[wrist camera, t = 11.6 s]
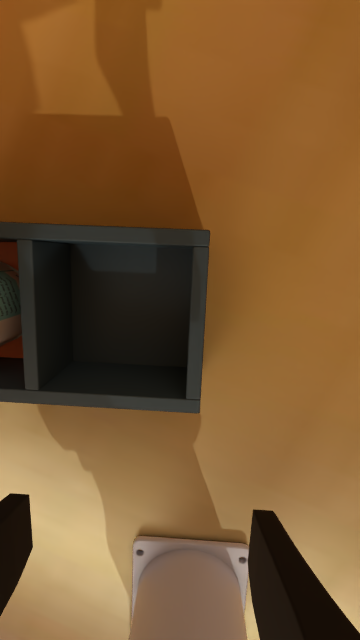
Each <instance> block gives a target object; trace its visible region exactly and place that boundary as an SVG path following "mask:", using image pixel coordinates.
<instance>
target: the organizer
mask: <svg viewBox="0 0 360 640" xmlns="http://www.w3.org/2000/svg"><path fill="white" fill-rule="evenodd" d="M209 242H210V231H209V230H194V229H169V228H143V227H118V226H92V225H67V224H42V223H16V222H0V262H3V263H5V264H8V265H9V266H11V267H13V268H14V269H16V270H17V271H18V272H19V289H20V308H21V326H22V336H20V337H19V338H17V339H15V340H13V341H11V342H8V343H6V344H4V345H2V346H0V402H15V403H32V404H49V405H66V406H83V407H100V408H117V409H134V410H151V411H168V412H184V413H200V398H201V381H202V364H203V347H204V329H205V312H206V294H207V277H208V260H209V247H208V246H209Z"/></svg>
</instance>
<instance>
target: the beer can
mask: <svg viewBox="0 0 360 640" xmlns="http://www.w3.org/2000/svg"><path fill="white" fill-rule="evenodd" d="M20 336H22V326H21V308H20V289H19V272H18V271H17V270H16V269H14V268H13V267H11V266H9V265H8V264H5V263H3V262H0V346H2V345H4V344H6V343H8V342H11V341H13V340H15V339H17V338H19V337H20Z"/></svg>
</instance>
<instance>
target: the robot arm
mask: <svg viewBox="0 0 360 640" xmlns="http://www.w3.org/2000/svg"><path fill="white" fill-rule="evenodd" d="M32 548H33V543H32V529H31V515H30V501H29V495H26V494H9V495H8V496H7V497H5V498H4V499H3V500H1V501H0V616H1V614H2V612H3V610H4V608H5V607H6V605H7V603H8V601H9V599H10V597H11V595H12V593H13V592H14V590H15V588H16V586H17V584H18V581H19V579H20V577H21V574H22V572H23V570H24V568H25V565H26V563H27V560H28V558H29V555H30V553H31V550H32ZM139 549H141V550H142V551H140V550H139ZM240 557H244V558H240ZM248 572H249V579H250V588H251V596H252V603H253V608H254V613H255V618H256V623H257V627H258V632H259V637H260V640H360V633H359V632H358V631H357V629H356V628H355V627H354V626H353V625H352V623H351V622H350V621H349V620H348V618H347V617H346V616H345V614H344V613H343V612H342V611H341V609H340V608H339V607H338V605H337V604H336V603H335V601H334V600H333V599H332V598H331V596H330V595H329V593H328V592H327V591H326V589H325V588H324V587H323V585H322V584H321V583H320V581H319V580H318V578H317V577H316V575H315V574H314V573H313V571H312V570H311V568H310V567H309V565H308V564H307V563H306V561H305V560H304V558H303V557H302V555H301V554H300V552H299V551H298V549H297V548H296V546H295V545H294V543H293V542H292V540H291V538H290V537H289V535H288V534H287V532H286V531H285V529H284V527H283V526H282V524H281V522H280V521H279V519H278V517H277V516H276V514H275V513H274V512H273V511H266V510H253V516H252V525H251V535H250V544H249V546H248V545H246V544H244V543H232V542H218V541H204V540H191V539H177V538H163V537H149V536H138V537H136V538H135V539H134V543H133V573H132V624H131V630H130V636H129V640H247V633H246V626H245V619H244V612H245V602H246V592H247V582H248Z"/></svg>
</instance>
